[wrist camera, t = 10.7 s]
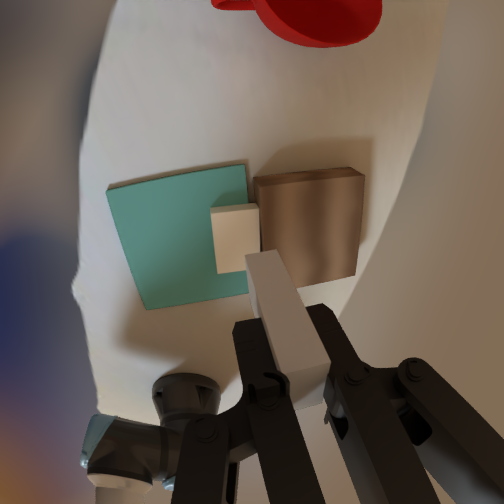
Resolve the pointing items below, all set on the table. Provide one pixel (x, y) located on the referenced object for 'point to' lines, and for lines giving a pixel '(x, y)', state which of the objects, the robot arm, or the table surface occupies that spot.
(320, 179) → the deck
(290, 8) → the ceramic cup
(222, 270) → the tile
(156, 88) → the table surface
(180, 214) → the mat
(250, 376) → the robot arm
